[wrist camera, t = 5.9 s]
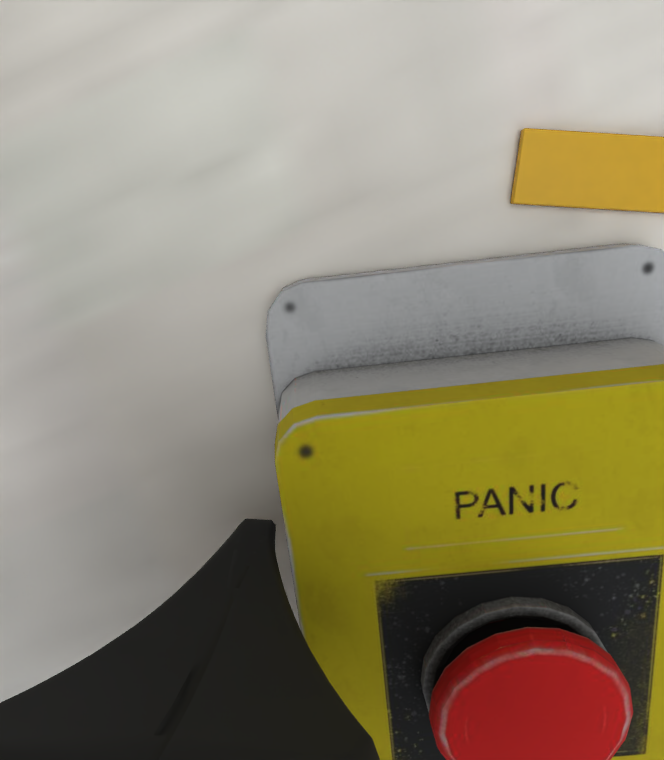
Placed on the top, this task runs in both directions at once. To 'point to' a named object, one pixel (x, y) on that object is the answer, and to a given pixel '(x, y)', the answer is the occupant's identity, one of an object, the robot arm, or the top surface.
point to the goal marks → (589, 170)
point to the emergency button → (481, 500)
